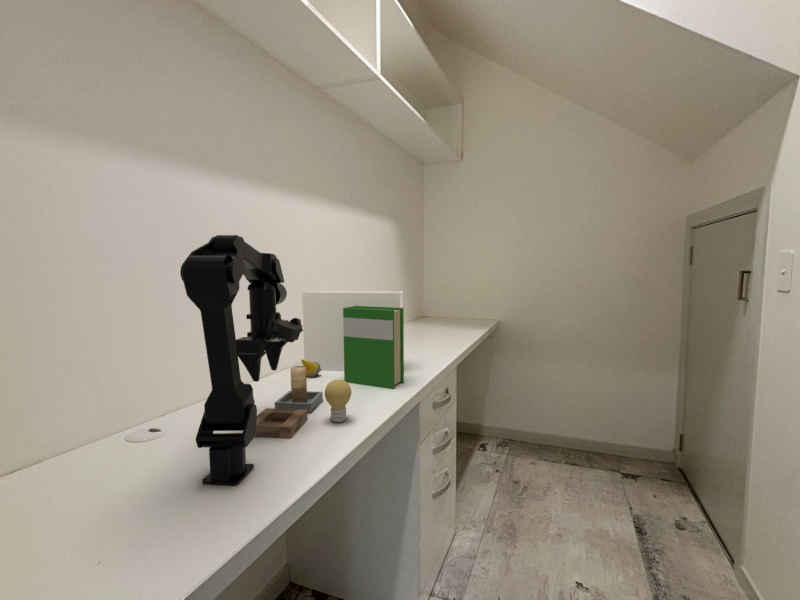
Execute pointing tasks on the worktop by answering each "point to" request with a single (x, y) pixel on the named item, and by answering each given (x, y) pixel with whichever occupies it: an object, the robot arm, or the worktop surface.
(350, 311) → the hardback book
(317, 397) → the tray
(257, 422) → the square wooden frame
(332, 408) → the light bulb
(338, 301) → the white flat rectangular panel
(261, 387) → the worktop surface
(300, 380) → the dowel
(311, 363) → the ice cream cone
